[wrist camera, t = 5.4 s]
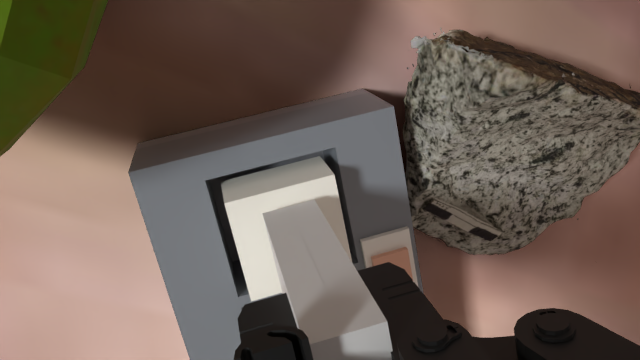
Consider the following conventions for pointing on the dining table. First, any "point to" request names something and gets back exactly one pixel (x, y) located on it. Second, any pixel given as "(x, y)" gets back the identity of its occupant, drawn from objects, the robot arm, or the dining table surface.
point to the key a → (270, 194)
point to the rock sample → (506, 141)
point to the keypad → (250, 157)
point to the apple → (40, 56)
